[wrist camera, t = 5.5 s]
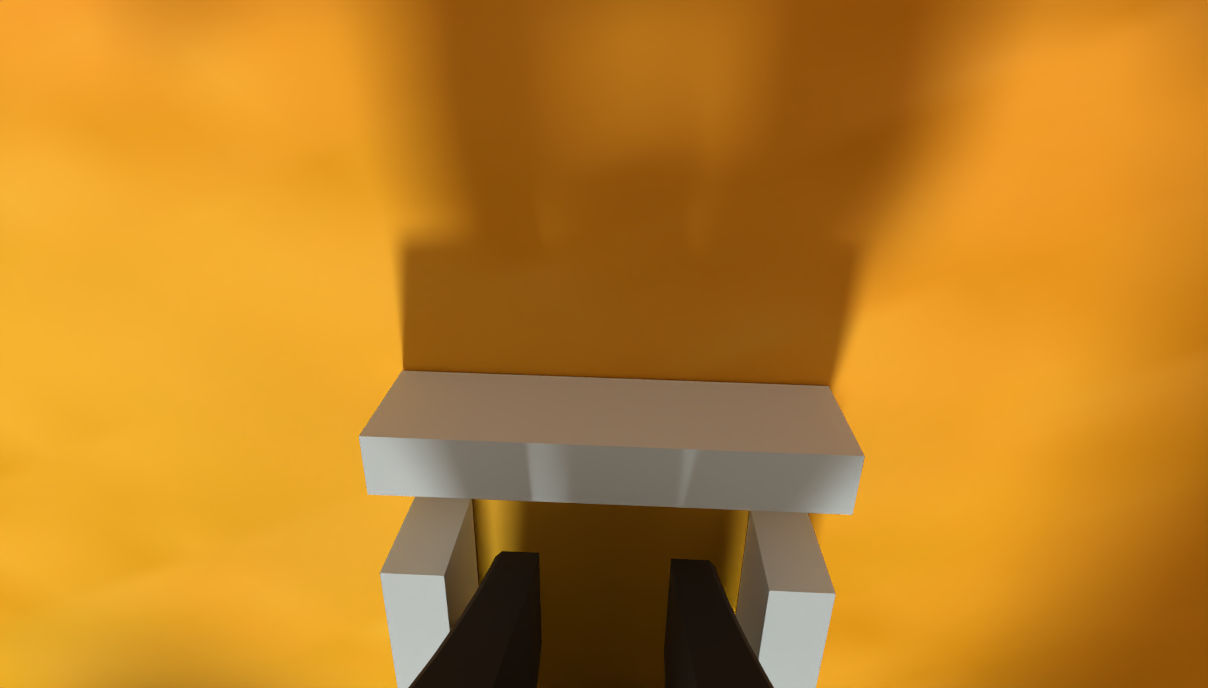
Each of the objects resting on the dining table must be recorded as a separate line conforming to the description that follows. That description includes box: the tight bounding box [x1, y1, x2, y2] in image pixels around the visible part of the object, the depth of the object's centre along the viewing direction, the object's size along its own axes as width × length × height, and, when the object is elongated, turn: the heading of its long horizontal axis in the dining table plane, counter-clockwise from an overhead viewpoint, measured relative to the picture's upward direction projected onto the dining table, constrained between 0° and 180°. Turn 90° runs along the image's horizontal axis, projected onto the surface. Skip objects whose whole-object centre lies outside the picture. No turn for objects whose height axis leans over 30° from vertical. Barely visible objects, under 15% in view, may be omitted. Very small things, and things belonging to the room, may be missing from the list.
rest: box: [359, 371, 865, 688], centre depth 13 cm, size 7×10×2 cm
